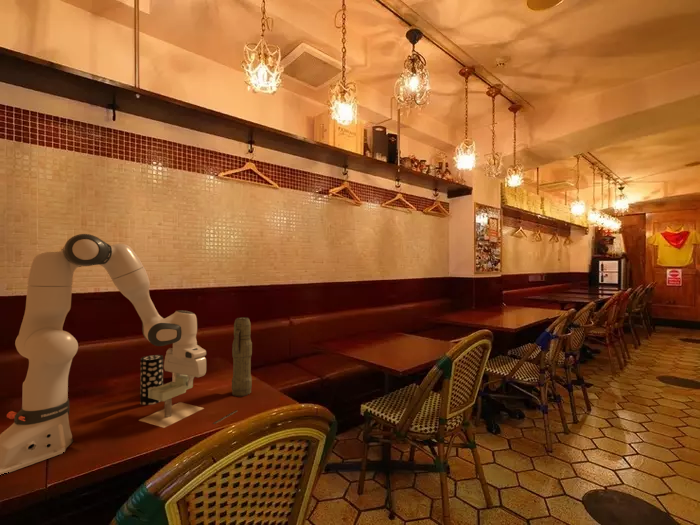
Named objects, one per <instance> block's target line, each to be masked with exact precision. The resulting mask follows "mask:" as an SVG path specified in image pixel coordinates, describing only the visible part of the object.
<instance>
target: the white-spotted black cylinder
mask: <svg viewBox="0 0 700 525" xmlns="http://www.w3.org/2000/svg"><path fill="white" fill-rule="evenodd" d="M139 380H140V381H139V382H140V387H139V388H140V389H139V390H140V391H139V392H140V393H139V394H140V395H139V396H140V398H139V405H143V406H149V405H157V404H159V403H160V402H162V401H159V400H155V399H151V398H148V390H149V389H152V388H155V387H158V386H161V385H164V355H161V354H154V355H153V354H152V355H146V356H142V357H141V358H140V379H139Z"/></svg>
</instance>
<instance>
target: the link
mask: <svg viewBox="0 0 700 525" xmlns="http://www.w3.org/2000/svg"><path fill="white" fill-rule="evenodd" d="M188 379H189V378H188V375H181V376H178V377H175V382H172V381H170V382H167V383H163V385H161V386H158V387H155V388H152V389H149V390H148V398H151V399H155V400H159V401H161V402H165V400H168V399H170V398H176V397H177V396H180V395H184V394H185V393H186V392H187V390H190V389H192V388H193V387H194V380H193V381H192V385H191V386H186V381H188ZM166 389H167V390H166Z"/></svg>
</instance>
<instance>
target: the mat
mask: <svg viewBox="0 0 700 525" xmlns="http://www.w3.org/2000/svg"><path fill="white" fill-rule="evenodd" d="M237 412H238V410H237V409H236V410H234V411H231V413H228V414H227V415H225V416H223V417H221V418H220V419H218V420H216V421H214V422H212V424H213V425H216V424H218V423H220V422H222V421H223V420H225V419H226V418H229V417H230V416H232V415H234V414H236V413H237Z"/></svg>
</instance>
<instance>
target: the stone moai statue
mask: <svg viewBox="0 0 700 525" xmlns="http://www.w3.org/2000/svg"><path fill="white" fill-rule="evenodd" d="M251 327H252V323H251V321H250V318H249V317H244V316H243V317H237V318H235V320H234V323H233V341H232V345H231V346H232V348H231V349H232V350H231V352H232V354H231V357H232V358H233V359H232V362H233V363H232V369H233V370H232V378H231V395H232V396H233V397H238V398H239V397H240V398H242V397H246V396H248V394H249V395H251V394H250V393H252V385H253V377H252V374H251V373H252V372H251V371H252V370H251V369H252V368H251V367H252V361H251V360H252V356H253V355H252V354H253V342H252V338H251V334H252V333H251V332H252V331H251V330H252V329H251Z"/></svg>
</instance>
